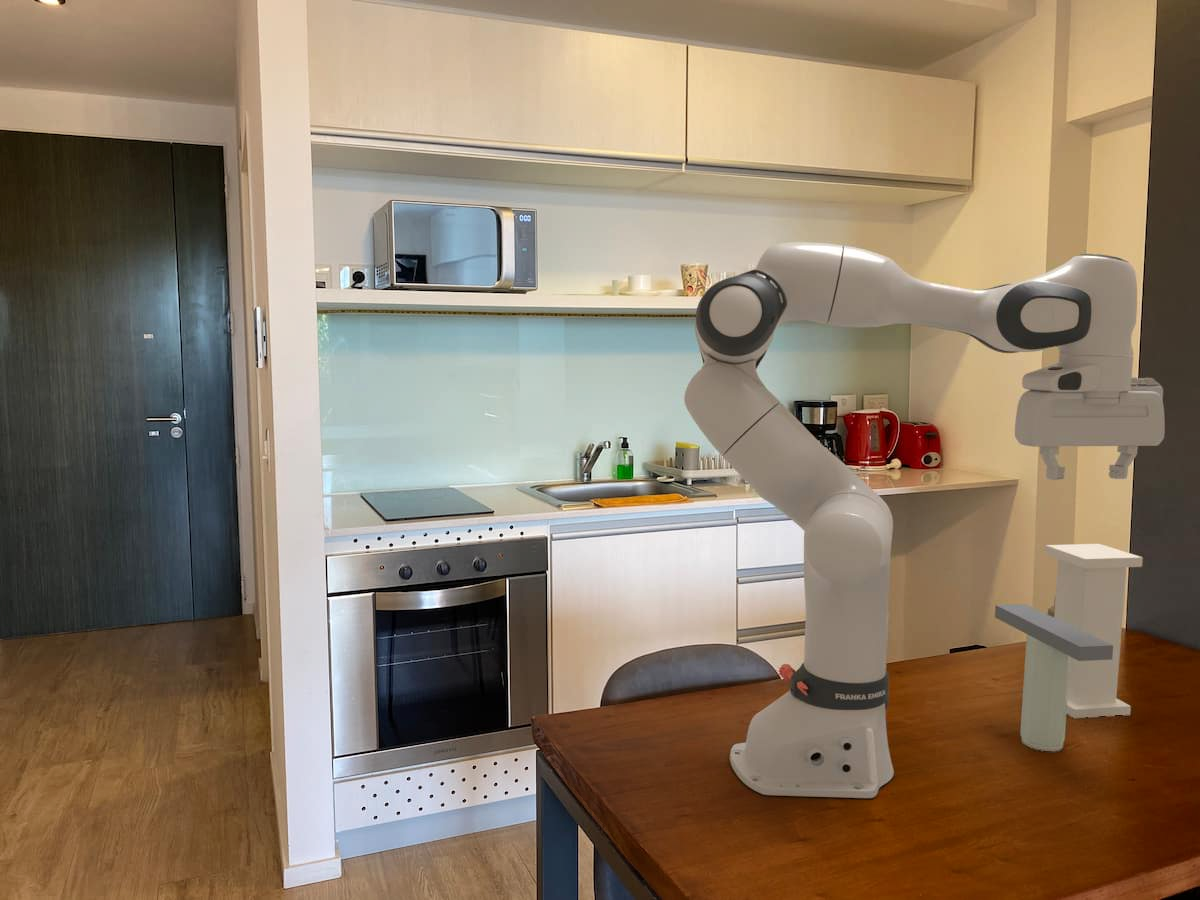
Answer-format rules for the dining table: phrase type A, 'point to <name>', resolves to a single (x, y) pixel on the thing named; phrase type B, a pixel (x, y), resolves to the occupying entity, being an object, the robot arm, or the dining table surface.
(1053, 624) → the cover
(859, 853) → the dining table surface
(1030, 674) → the jar
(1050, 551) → the stand
